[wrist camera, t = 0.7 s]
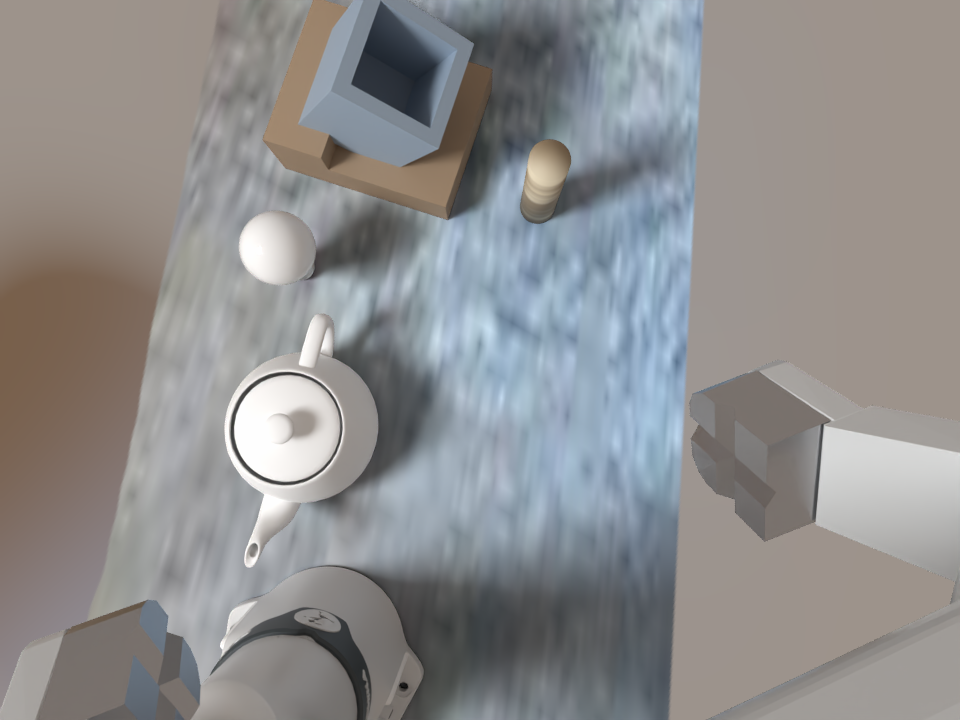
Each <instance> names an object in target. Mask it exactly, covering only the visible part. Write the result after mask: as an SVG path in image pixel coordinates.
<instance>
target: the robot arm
mask: <svg viewBox="0 0 960 720" xmlns="http://www.w3.org/2000/svg"><path fill="white" fill-rule="evenodd" d="M690 416H691V417H692V418H693V419H694V420H695V421H696V422H697V423H698V424H699V425H698V427H697V429H696V431H695V433H694V434H693V436H692V438H691V444H692V455H693V458H694V461H695V463H696V466H697V468H698V471H699V473H700V474H701V476H702V477H703V479H704V480H705V482H706V483H707V484H708V485H709V486H710V487H711V488H712V489H713V491H714V492H716V494H719V495H722V496H725V497H729V498H732V499H735V513H736V514H737V515H738V516H739V517H740V518H742V520H743V521H744V522H745V523H746V524H747V525H748V526H749V527H751V529H752V530H753V531H754V532H755V533H756V534H757V535H758V536H759V537H760V538H762V540H763V541H768V540H770V539H773V538H775V537H778V536H780V535H782V534H785V533H788V532H790V531H793V530H795V529H798V528H800V527H803V526H805V525H808V524H810V523H813V522H816V525H818V526H821V527H823V528H825V529H828V530H830V531H832V532H835V533H837V534H840V535H842V536H845V537H847V538H850V539H852V540H854V541H857V542H860V543H862V544H864V545H867V546H869V547H872V548H874V549H876V550H879V551H882V552H884V553H886V554H889V555H891V556H894V557H896V558H898V559H901V560H904V561H906V562H908V563H911V564H913V565H915V566H918V567H921V568H923V569H926V570H928V571H930V572H933V573H935V574H938V575H940V576H942V577H945V578H947V579H950V580H952V581H955V586H954V590H953V594H952V598H951V602H950V605H948V606H945V607H943V608H941V609H939V610H937V611H935V612H933V613H931V614H929V615H926V616H924V617H922V618H920V619H918V620H916V621H914V622H912V623H910V624H907V625H905V626H903V627H901V628H899V629H897V630H895V631H893V632H891V633H889V634H886V635H884V636H882V637H880V638H878V639H876V640H874V641H872V642H869V643H868V644H865V645H863V646H861V647H859V648H857V649H855V650H853V651H851V652H849V653H847V654H844V655H842V656H840V657H838V658H836V659H834V660H832V661H830V662H828V663H825V664H823V665H821V666H819V667H817V668H815V669H813V670H811V671H809V672H806V673H804V674H802V675H800V676H798V677H796V678H794V679H792V680H790V681H787V682H785V683H783V684H781V685H779V686H777V687H775V688H773V689H771V690H768V691H766V692H764V693H762V694H760V695H758V696H756V697H754V698H752V699H749V700H747V701H745V702H743V703H741V704H739V705H737V706H735V707H733V708H730V709H729V710H726V711H724V712H722V713H720V714H718V715H716V716H714V717H711V718H709V719H707V720H960V421H955V420H950V419H944V418H939V417H933V416H928V415H922V414H916V413H911V412H906V411H900V410H895V409H889V408H884V407H878V406H873V405H872V406H869V407H867V408H864V409H863V408H861V407H860V406H858V405H856V404H855V403H853V402H852V401H850V400H849V399H847V398H845V397H844V396H842V395H840V394H839V393H837V392H836V391H834V390H833V389H831V388H829V387H828V386H826V385H824V384H823V383H821V382H819V381H818V380H816V379H815V378H813V377H812V376H810V375H808V374H807V373H805V372H804V371H802V370H800V369H799V368H797V367H796V366H794V365H792V364H791V363H789V362H787V361H782V360H776V361H774V362H771V363H768V364H766V365H764V366H761V367H758V368H756V369H754V370H751V371H749V373H745V374H743V375H740V376H737V377H735V378H732V379H730V380H727V381H725V382H722V383H719V384H717V385H714V386H712V387H709V388H707V389H704V390H701V391H699V392H696V393H693V394H692V397H691V400H690ZM167 623H168V615H167V614H166V613H165V611H164V610H163V609H162V607H161V606H160V605H159V604H158V602H157V601H154V600H146V601H143V602H140V603H137V604H134V605H131V606H129V607H126V608H123V609H120V610H117V611H114V612H112V613H109V614H106V615H103V616H100V617H98V618H95V619H92V620H89V621H86V622H84V623H81V624H78V625H75V626H72V627H71V628H70V629H66V630H63V631H60V632H58V633H55V634H52V635H49V636H46V637H43V638H41V639H38V640H35V641H32V642H31V643H30V644H29V645H28V646H27V647H26V648H25V649H24V650H23V651H22V653H21V655H20V658H19V661H18V663H17V666H16V669H15V672H14V675H13V677H12V680H11V683H10V686H9V688H8V691H7V694H6V697H5V699H4V702H3V706H2V708H1V710H0V720H400V719H401V718H402V716H403V714H404V712H405V710H406V708H407V707H408V705H409V703H410V701H411V699H412V697H413V696H414V694H415V692H416V690H417V688H418V686H419V684H420V683H421V681H422V678H423V675H424V670H423V666H422V664H421V662H420V661H419V659H418V658H417V656H416V655H415V654H414V652H413V651H412V650H411V648H410V647H409V646H408V644H407V642H406V640H405V636H404V633H403V629H402V625H401V621H400V618H399V616H398V613H397V611H396V609H395V607H394V605H393V603H392V602H391V600H390V599H389V597H388V596H387V595H386V594H385V592H384V591H383V590H382V589H381V588H380V587H379V586H378V585H376V584H375V583H374V582H373V581H371V580H370V579H368V578H367V577H365V576H363V575H361V574H359V573H357V572H355V571H352V570H349V569H345V568H340V567H316V568H311V569H307V570H304V571H301V572H299V573H296V574H294V575H292V576H290V577H289V578H287V579H285V580H284V581H283V582H281V583H280V584H279V585H277V586H276V587H275V588H274V589H273V590H271V591H270V592H268V593H267V594H265V595H264V596H261V597H257V598H253V599H249V600H246V601H244V602H241V603H239V604H238V605H236V606H235V607H234V609H233V610H232V611H231V613H230V615H229V618H228V625H227V632H226V636H225V637H224V638H223V640H222V642H221V644H220V647H221V648H222V649H223V651H222V655H221V658H220V659H219V661H218V662H217V664H216V666H215V667H214V669H213V670H212V672H211V674H210V676H209V677H208V678H207V679H206V680H205V681H204V682H203V683H202V684H201V685H200V679H199V673H198V667H197V663H196V661H195V658H194V656H193V653H192V651H191V649H190V647H189V646H188V644H187V643H186V641H185V640H184V638H183V637H180V636H177V635H174V634H171V633H168V632H167ZM402 682H405V683H407V685H408V688H406V689H403V688H401V687H400V683H402Z"/></svg>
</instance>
